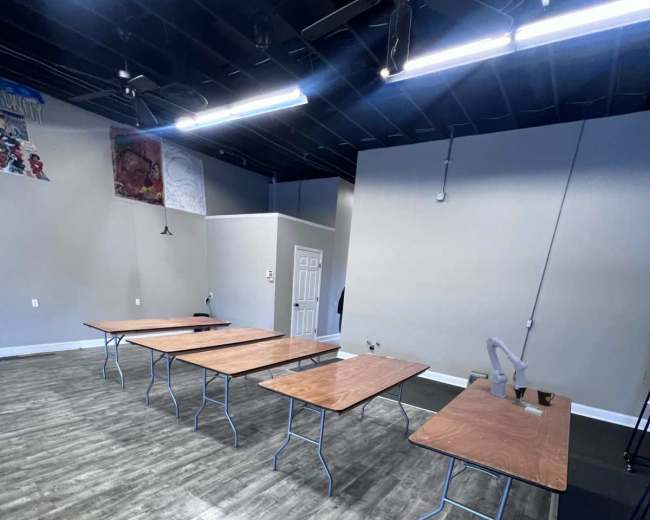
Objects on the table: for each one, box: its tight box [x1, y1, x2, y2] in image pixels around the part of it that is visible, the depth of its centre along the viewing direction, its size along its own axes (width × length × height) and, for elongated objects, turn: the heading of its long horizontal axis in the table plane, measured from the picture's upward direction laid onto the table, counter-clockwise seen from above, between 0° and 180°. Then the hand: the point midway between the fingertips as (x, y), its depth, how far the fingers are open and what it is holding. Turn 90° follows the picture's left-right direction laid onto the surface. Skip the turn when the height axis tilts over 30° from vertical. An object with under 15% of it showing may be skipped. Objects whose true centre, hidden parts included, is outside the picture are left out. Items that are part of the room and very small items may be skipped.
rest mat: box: [510, 399, 540, 410], centre depth 214 cm, size 16×8×1 cm, turn 39°
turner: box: [513, 390, 533, 407], centre depth 215 cm, size 10×6×7 cm, turn 38°
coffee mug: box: [536, 388, 556, 407], centre depth 217 cm, size 12×9×10 cm
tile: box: [524, 407, 544, 417], centre depth 201 cm, size 2×7×9 cm
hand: (519, 397), depth 216 cm, fingers open, 5 cm apart
